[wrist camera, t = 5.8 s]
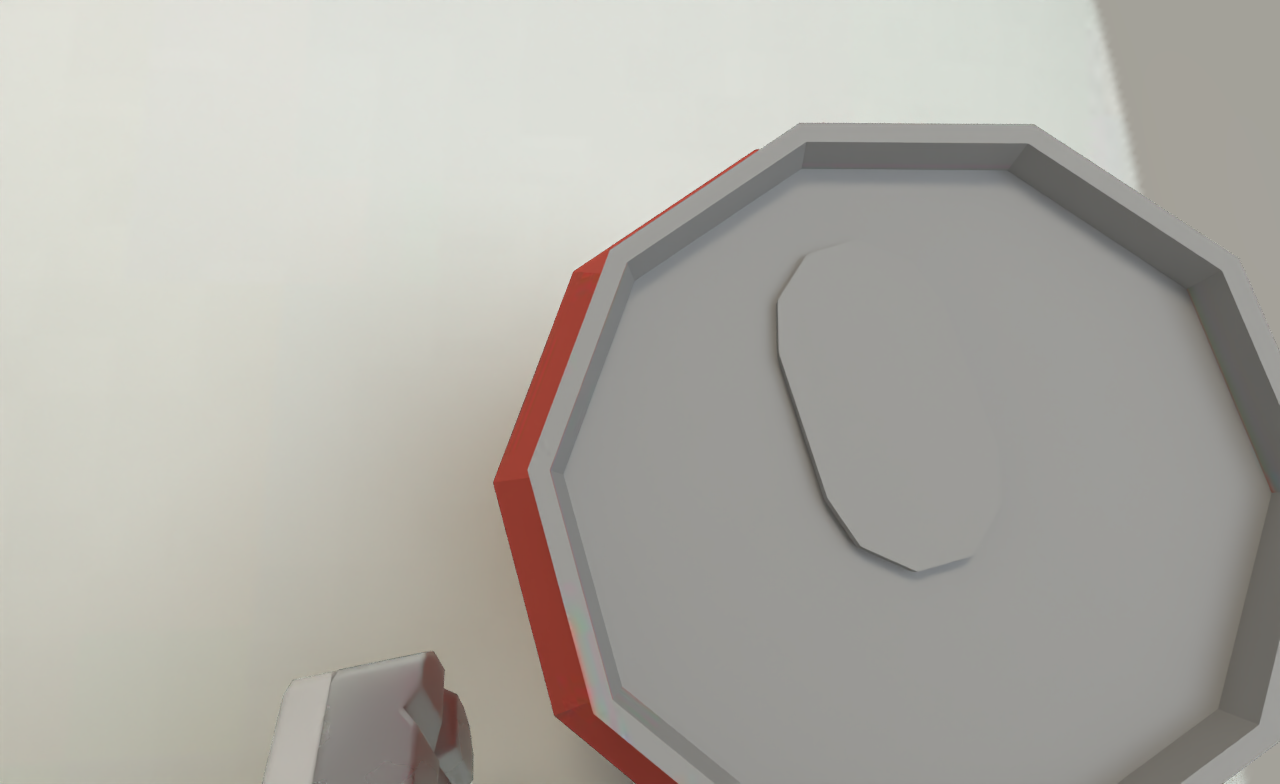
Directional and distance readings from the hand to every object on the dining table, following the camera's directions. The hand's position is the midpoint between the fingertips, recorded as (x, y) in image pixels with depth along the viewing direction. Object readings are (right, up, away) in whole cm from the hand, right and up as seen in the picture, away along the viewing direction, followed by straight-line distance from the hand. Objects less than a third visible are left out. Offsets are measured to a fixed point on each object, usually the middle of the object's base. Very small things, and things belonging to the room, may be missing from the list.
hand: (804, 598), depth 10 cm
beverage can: (+1, 0, +8) cm, 8 cm away
